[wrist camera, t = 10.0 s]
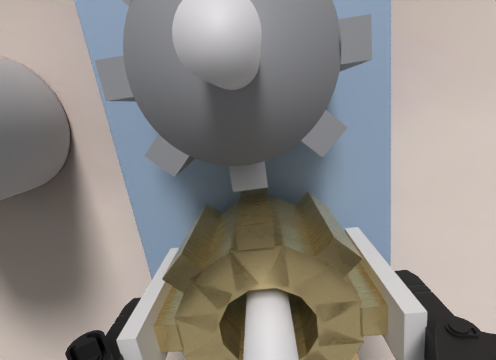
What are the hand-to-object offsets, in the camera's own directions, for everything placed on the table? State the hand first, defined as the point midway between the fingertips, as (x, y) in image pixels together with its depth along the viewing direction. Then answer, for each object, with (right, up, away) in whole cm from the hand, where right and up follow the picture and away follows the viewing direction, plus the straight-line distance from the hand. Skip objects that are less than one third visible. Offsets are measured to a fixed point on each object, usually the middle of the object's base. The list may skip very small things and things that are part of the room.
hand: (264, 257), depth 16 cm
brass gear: (0, 0, 0) cm, 0 cm away
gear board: (-1, +6, +1) cm, 6 cm away
